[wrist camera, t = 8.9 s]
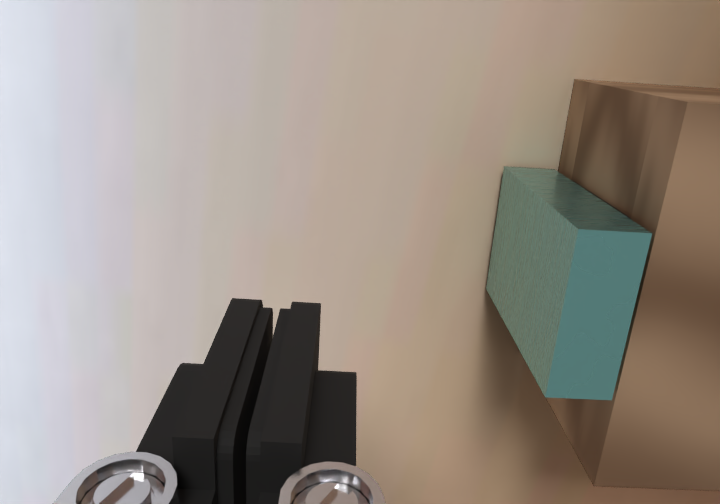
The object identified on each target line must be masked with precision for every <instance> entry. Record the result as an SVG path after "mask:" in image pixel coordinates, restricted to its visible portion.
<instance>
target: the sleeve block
mask: <svg viewBox="0 0 720 504" xmlns="http://www.w3.org/2000/svg"><path fill="white" fill-rule="evenodd" d="M558 172H559V173H561V174H562V175H564V176H565V177H567V178H569V179H570V180H572V181H573V182H575V183H576V184H578V185H579V186H581V187H582V188H584V189H585V190H587V191H588V192H590V193H591V194H593V195H594V196H596V197H598V198H599V199H601V200H602V201H604V202H605V203H607V204H608V205H610V206H611V207H613V208H614V209H616V210H617V211H619V212H620V213H622V214H623V215H625V216H627V217H628V218H630V219H631V220H633V221H634V222H636V223H637V224H639V225H640V226H642V227H643V228H645V229H646V230H648V231H649V232H651V233H652V237H651V241H650V245H649V249H648V253H647V257H646V261H645V265H644V270H643V274H642V278H641V282H640V286H639V290H638V294H637V298H636V303H635V307H634V311H633V315H632V319H631V323H630V327H629V332H628V336H627V340H626V344H625V348H624V352H623V356H622V360H621V365H620V369H619V373H618V377H617V381H616V385H615V389H614V393H613V398H612V400H592V399H570V398H547V397H546V399H547V401H548V403H549V405H550V407H551V408H552V410H553V412H554V414H555V416H556V418H557V419H558V421H559V423H560V425H561V427H562V429H563V430H564V432H565V434H566V436H567V438H568V440H569V441H570V443H571V445H572V447H573V449H574V451H575V452H576V454H577V456H578V458H579V460H580V462H581V463H582V465H583V467H584V469H585V471H586V473H587V474H588V476H589V478H590V480H591V482H592V484H593V485H594V486H601V487H627V488H653V489H679V490H705V491H720V89H714V88H699V87H683V86H668V85H653V84H638V83H623V82H608V81H593V80H578V79H575V80H574V86H573V91H572V97H571V102H570V108H569V114H568V119H567V125H566V130H565V136H564V141H563V147H562V153H561V158H560V164H559V169H558Z"/></svg>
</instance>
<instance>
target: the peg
mask: <svg viewBox="0 0 720 504" xmlns="http://www.w3.org/2000/svg"><path fill="white" fill-rule="evenodd" d="M651 237H652V233H651V232H649V231H648V230H646V229H645V228H643V227H642V226H640V225H639V224H637V223H636V222H634V221H633V220H631V219H630V218H628V217H627V216H625V215H623V214H622V213H620V212H619V211H617V210H616V209H614V208H613V207H611V206H610V205H608V204H607V203H605V202H604V201H602V200H601V199H599V198H598V197H596V196H594V195H593V194H591V193H590V192H588V191H587V190H585V189H584V188H582V187H581V186H579V185H578V184H576V183H575V182H573V181H572V180H570V179H569V178H567V177H565V176H564V175H562V174H561V173H559V172H558V171H556V170H555V169H539V168H522V167H506V166H504V171H503V178H502V184H501V191H500V198H499V205H498V212H497V218H496V225H495V232H494V239H493V245H492V252H491V259H490V266H489V272H488V279H487V286H486V290H487V291H488V293H489V295H490V297H491V299H492V301H493V302H494V304H495V306H496V308H497V310H498V312H499V313H500V315H501V317H502V319H503V321H504V323H505V325H506V326H507V328H508V330H509V332H510V334H511V336H512V337H513V339H514V341H515V343H516V345H517V347H518V348H519V350H520V352H521V354H522V356H523V358H524V359H525V361H526V363H527V365H528V367H529V369H530V370H531V372H532V374H533V376H534V378H535V380H536V382H537V383H538V385H539V387H540V389H541V391H542V393H543V394H544V396H545V397H547V398H570V399H592V400H612V398H613V393H614V389H615V385H616V381H617V377H618V373H619V369H620V365H621V360H622V356H623V352H624V348H625V344H626V340H627V336H628V332H629V327H630V323H631V319H632V315H633V311H634V307H635V303H636V298H637V294H638V290H639V286H640V282H641V278H642V274H643V270H644V265H645V261H646V257H647V253H648V249H649V245H650V241H651Z"/></svg>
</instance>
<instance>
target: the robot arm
mask: <svg viewBox="0 0 720 504" xmlns="http://www.w3.org/2000/svg"><path fill="white" fill-rule="evenodd" d="M320 313H321V303H305V302H292V305H291V309H280V312H279V316H278V320H277V324H276V328H275V331H274V335H273V310H272V308H263V304H262V300H252V299H235V298H232V300H231V302H230V304H229V306H228V309H227V311H226V313H225V316H224V318H223V320H222V322H221V325H220V327H219V329H218V332H217V334H216V336H215V339H214V341H213V343H212V346H211V348H210V350H209V352H208V355H207V357H206V359H205V362H204V364H191V363H182V364H180V366H179V367H178V369H177V371H176V373H175V375H174V377H173V379H172V381H171V383H170V385H169V387H168V389H167V391H166V393H165V395H164V397H163V399H162V401H161V403H160V405H159V407H158V409H157V411H156V413H155V415H154V417H153V419H152V421H151V423H150V425H149V427H148V429H147V431H146V433H145V435H144V437H143V439H142V441H141V443H140V445H139V447H138V449H137V451H136V452H127V453H120V454H114V455H112V456H109V457H106V458H103V459H101V460H98V461H96V462H95V463H93V464H91V465H90V466H88V467H86V468H85V469H83V470H82V471H81V472H80V473H79V474H78V475H77V476H76V477H75V478H74V479H73V480H72V481H71V482H70V483H69V484H68V486H67V487H66V488H65V489H64V490H63V492H62V493H61V494H60V495H59V496H58V498H57V499H56V500H55V501H54V503H53V504H386V502H385V498H384V495H383V493H382V490H381V488H380V486H379V484H378V483H377V482H376V481H375V480H374V479H373V477H372V476H371V475H370V474H368V473H367V472H365V471H363V470H362V469H360V468H358V467H356V372H338V371H319V370H318V358H319V336H320Z"/></svg>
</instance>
